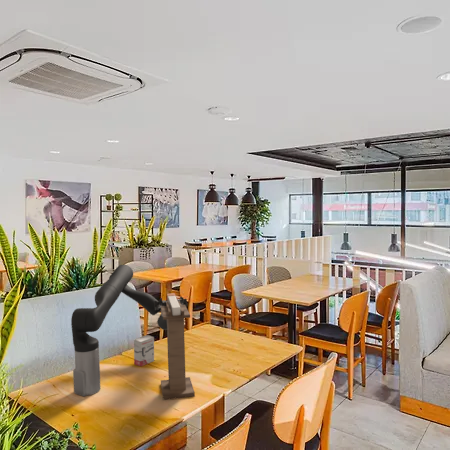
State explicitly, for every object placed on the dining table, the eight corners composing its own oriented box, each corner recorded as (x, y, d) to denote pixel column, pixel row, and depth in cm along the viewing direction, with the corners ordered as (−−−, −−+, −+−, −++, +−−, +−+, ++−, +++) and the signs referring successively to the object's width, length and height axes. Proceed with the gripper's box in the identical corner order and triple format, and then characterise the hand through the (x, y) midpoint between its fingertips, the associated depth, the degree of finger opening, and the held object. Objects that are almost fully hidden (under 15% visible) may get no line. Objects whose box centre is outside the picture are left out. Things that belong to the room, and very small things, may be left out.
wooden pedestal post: (160, 383, 163) (158, 303, 161) (189, 379, 165) (187, 300, 164) (163, 401, 147) (160, 313, 145) (195, 397, 150) (192, 310, 148)
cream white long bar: (167, 301, 171) (167, 293, 171) (174, 300, 172) (174, 293, 171) (172, 315, 148) (172, 307, 147) (180, 314, 148) (180, 306, 148)
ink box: (141, 367, 180) (140, 341, 179) (133, 364, 183) (133, 339, 182) (155, 360, 186) (154, 336, 186) (148, 358, 190) (147, 334, 189)
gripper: (153, 303, 182) (154, 292, 168) (183, 301, 185) (187, 289, 171) (154, 319, 179) (155, 309, 165) (185, 316, 182) (188, 306, 168)
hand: (171, 299), depth 168 cm, fingers open, 8 cm apart
